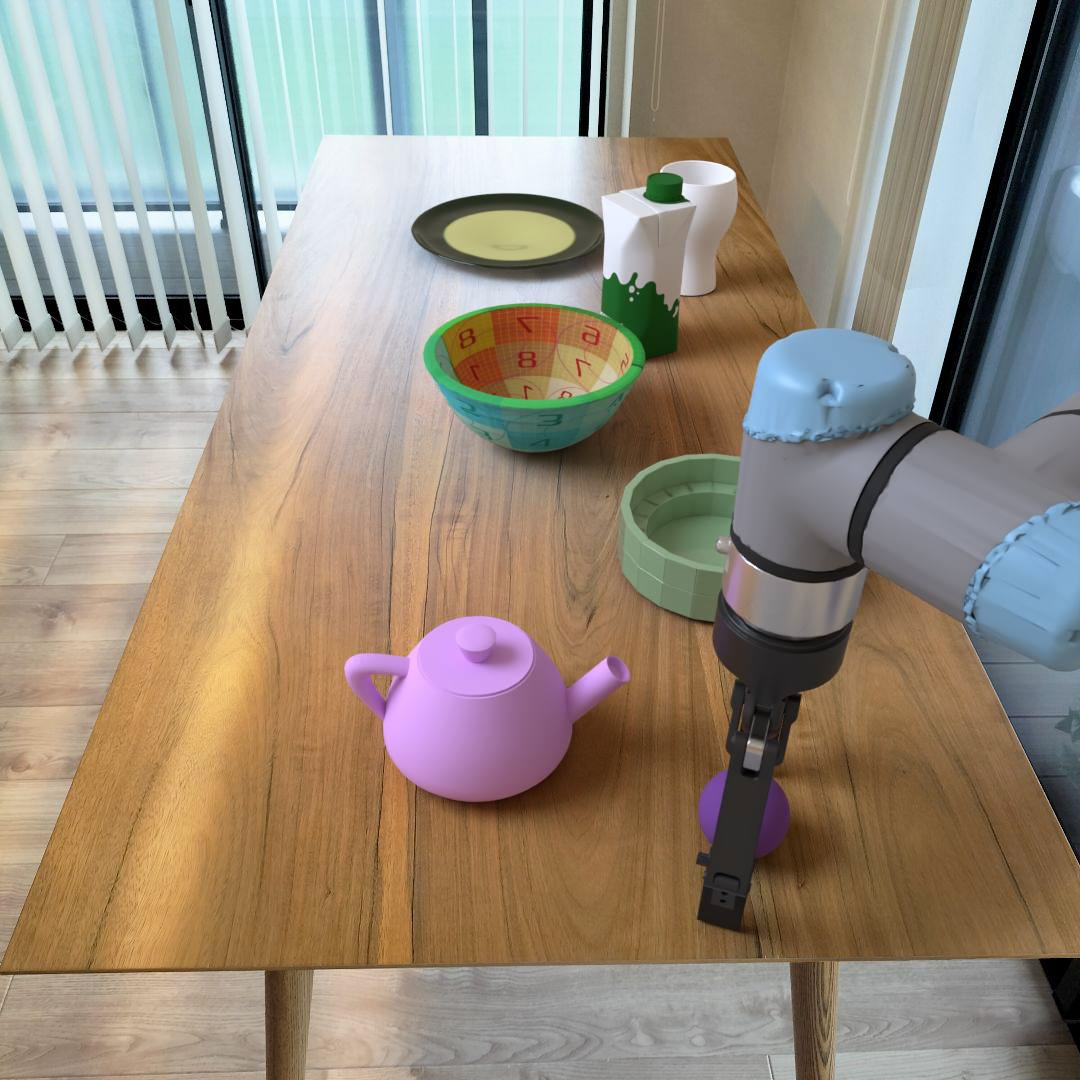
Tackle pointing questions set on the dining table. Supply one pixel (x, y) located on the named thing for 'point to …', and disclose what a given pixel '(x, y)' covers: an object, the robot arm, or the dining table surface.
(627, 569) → the green bowl
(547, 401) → the bowl
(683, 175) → the cup
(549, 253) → the plate
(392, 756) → the teapot
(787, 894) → the dining table surface
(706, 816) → the ball
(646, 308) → the milk carton
